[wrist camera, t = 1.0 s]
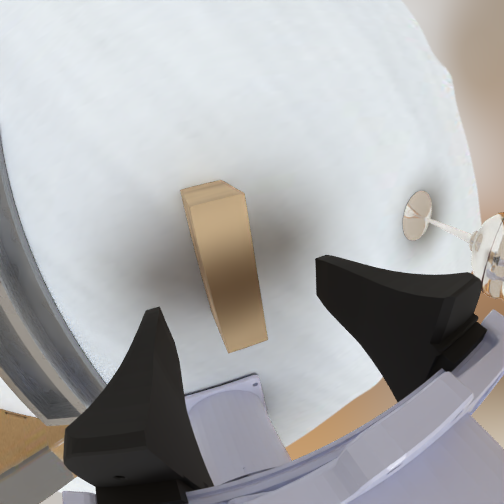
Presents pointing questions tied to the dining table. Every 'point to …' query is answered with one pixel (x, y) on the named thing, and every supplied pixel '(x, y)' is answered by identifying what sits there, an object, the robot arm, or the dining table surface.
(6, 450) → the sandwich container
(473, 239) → the wineglass
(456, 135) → the dining table surface
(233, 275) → the tan rectangular block
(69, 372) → the track
